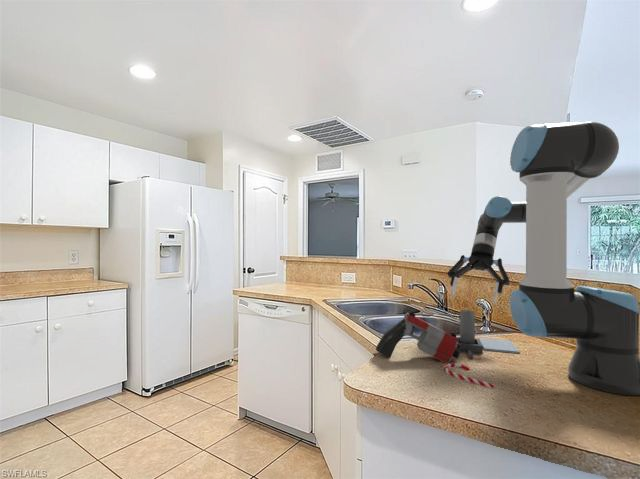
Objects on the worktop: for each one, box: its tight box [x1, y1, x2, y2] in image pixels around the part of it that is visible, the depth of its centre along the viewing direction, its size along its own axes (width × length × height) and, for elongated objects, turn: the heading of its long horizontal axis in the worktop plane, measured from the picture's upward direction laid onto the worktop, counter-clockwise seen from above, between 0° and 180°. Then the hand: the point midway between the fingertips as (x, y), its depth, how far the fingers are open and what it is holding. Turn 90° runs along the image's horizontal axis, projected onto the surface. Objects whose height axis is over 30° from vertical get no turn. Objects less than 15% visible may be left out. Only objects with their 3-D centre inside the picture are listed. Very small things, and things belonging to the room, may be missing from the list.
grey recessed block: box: [456, 336, 484, 360], centre depth 104 cm, size 14×8×2 cm, turn 162°
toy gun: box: [375, 310, 461, 364], centre depth 99 cm, size 5×22×15 cm, turn 78°
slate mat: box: [478, 337, 521, 355], centre depth 110 cm, size 12×10×1 cm
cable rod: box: [459, 307, 476, 344], centre depth 107 cm, size 4×4×13 cm
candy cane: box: [442, 362, 496, 389], centre depth 85 cm, size 8×1×15 cm
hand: (473, 297), depth 114 cm, fingers open, 13 cm apart
